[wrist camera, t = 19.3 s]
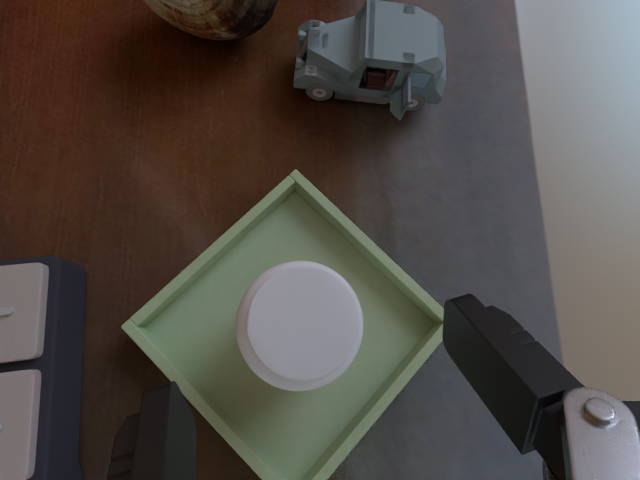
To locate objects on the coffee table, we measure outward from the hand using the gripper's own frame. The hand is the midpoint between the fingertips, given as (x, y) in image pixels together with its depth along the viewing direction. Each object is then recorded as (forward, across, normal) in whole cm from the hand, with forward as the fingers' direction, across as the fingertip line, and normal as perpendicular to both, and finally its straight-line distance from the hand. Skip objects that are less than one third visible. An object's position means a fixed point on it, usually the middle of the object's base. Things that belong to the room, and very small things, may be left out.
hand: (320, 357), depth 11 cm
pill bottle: (+9, 0, +8) cm, 12 cm away
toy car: (+20, -9, -2) cm, 22 cm away
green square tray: (+10, 0, +8) cm, 12 cm away
